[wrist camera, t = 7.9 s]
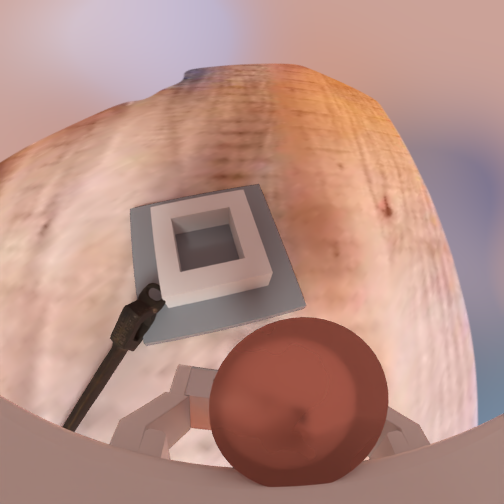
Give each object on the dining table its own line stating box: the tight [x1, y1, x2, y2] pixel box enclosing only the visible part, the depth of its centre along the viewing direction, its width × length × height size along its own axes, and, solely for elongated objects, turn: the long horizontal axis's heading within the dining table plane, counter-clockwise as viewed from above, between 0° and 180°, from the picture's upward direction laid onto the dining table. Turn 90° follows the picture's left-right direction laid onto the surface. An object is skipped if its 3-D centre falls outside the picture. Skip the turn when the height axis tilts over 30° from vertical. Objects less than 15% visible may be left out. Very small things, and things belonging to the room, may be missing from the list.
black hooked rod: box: [63, 283, 166, 432], centre depth 19 cm, size 5×5×30 cm
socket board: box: [130, 184, 306, 346], centre depth 28 cm, size 16×16×4 cm
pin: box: [209, 317, 388, 487], centre depth 10 cm, size 4×4×11 cm
